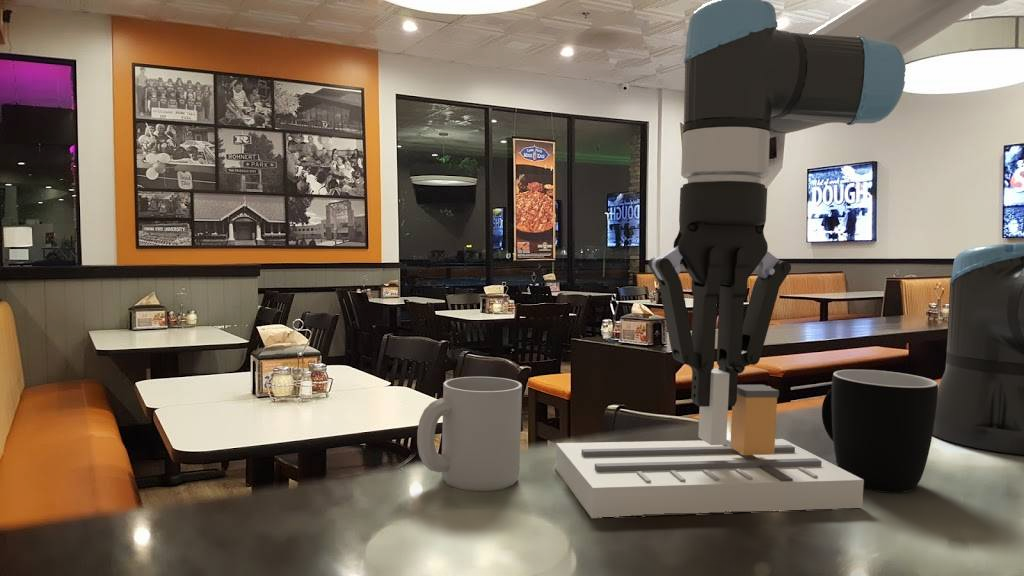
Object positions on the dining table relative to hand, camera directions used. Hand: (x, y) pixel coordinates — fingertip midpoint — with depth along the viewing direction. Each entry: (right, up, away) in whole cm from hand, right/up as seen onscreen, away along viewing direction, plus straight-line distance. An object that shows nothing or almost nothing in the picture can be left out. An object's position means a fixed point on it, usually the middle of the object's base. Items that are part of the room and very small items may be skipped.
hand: (712, 440), depth 67 cm
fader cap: (+4, -1, +1) cm, 4 cm away
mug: (+16, -5, +5) cm, 18 cm away
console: (-1, -4, 0) cm, 4 cm away
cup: (-22, -4, 0) cm, 23 cm away
